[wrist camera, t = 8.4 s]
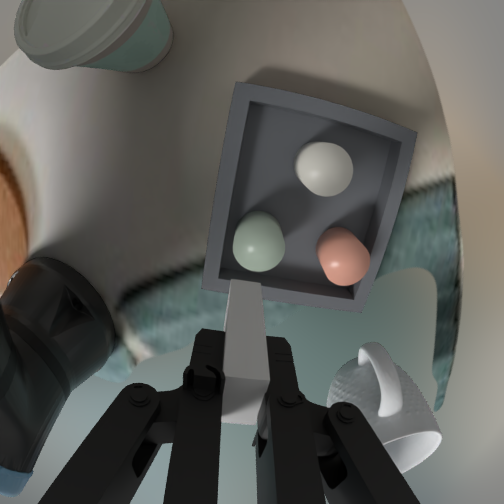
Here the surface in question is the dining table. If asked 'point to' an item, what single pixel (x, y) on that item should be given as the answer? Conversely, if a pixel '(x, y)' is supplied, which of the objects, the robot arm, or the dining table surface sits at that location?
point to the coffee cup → (94, 33)
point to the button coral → (342, 256)
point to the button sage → (258, 241)
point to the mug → (388, 405)
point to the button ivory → (323, 168)
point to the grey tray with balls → (304, 192)
